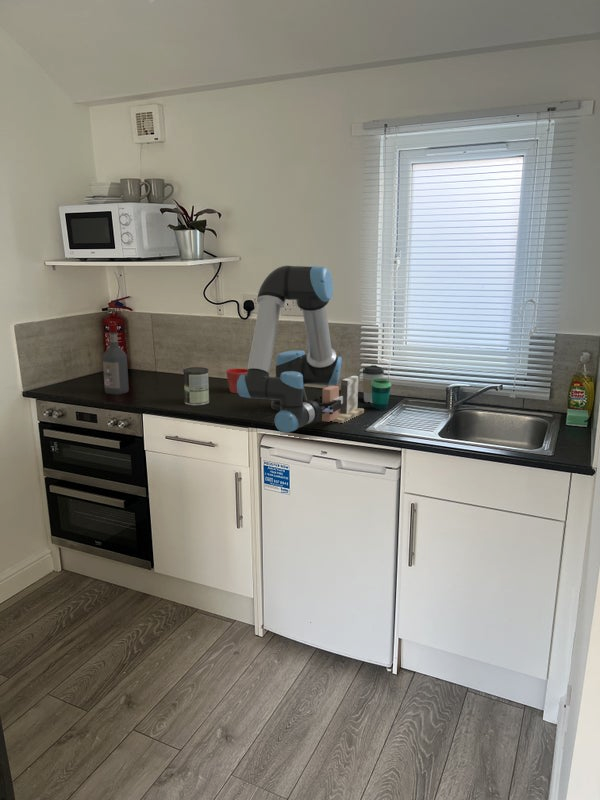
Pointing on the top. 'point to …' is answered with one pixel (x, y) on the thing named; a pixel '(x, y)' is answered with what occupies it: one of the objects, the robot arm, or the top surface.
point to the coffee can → (196, 386)
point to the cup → (380, 393)
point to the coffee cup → (370, 380)
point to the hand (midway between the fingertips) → (337, 398)
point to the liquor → (115, 366)
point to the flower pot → (234, 378)
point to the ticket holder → (349, 400)
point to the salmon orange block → (328, 396)
